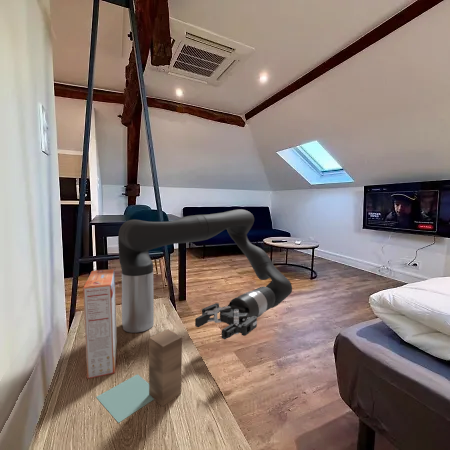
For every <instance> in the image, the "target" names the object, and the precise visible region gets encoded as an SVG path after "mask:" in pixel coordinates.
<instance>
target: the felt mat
mask: <svg viewBox="0 0 450 450" xmlns="http://www.w3.org/2000/svg"><path fill="white" fill-rule="evenodd" d="M96 399H97V400H98V402H100V403H101V405H102V406H103V407H104V408H105V409H106V411H107V412H108V413H109V414H110V415H111V416H112V417H113V418H114V420H116V422H117V423H118V424H119V423H121V422H122V421H124V420H125V419H127V418H128V417H130V416H132V415H133V414H135V412H138V411H139V410H141V409H142V408H143V407H145V406H146V405H148V404H149V403H151V402H152V401H154V400H155V399H154V398H153V397H151V396H150V395H149V381H147V380H145V378H143V377H142V376H141V375H139V373H137V374H135V375H134V376H132V377H130V378H128V379H125V380H124V381H122V382H121V383H119V384H117V385H116V386H113V387H111V388H109V389H107V390H106V391H105V392H103V393H100V394H99V395H97V396H96Z"/></svg>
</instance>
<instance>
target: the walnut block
mask: <svg viewBox="0 0 450 450" xmlns="http://www.w3.org/2000/svg"><path fill="white" fill-rule="evenodd" d="M148 338H149V339H148V345H149V346H148V351H149V352H148V361H149V362H148V371H149V373H148V377H149V378H148V383H149V395H150V396H151V397H153V398H154V400H155V401H156V402H157V403H158V404H159V405H160V406H161V407H164V406H165V405H167V404H168V403H170V402H171V401H172V400H174V399H175V398H177V397H179V396H180V395H181V394H182V366H183V365H182V361H183V359H182V358H183V356H182V355H183V354H182V353H183V337H182V336H181V335H179V334H178V333H176V332H173V331H172V330H170V329H166V330H163V331H161V332H159V333H156V334H154V335H152V336H150V337H148Z"/></svg>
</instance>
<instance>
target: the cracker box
mask: <svg viewBox="0 0 450 450" xmlns="http://www.w3.org/2000/svg"><path fill="white" fill-rule="evenodd" d="M115 274H116V272H115V269H114V268H112V269H111V268H110V269H97V270H95V269H94V270H92V271H91V272H90V274H89V276H88V277H87V280H86V281H85V283H84V285H83V287H82V294H83V295H82V297H83V312H84V317H83V318H84V333H85V334H84V335H85V336H84V337H85V357H86V377H87V379H88V380H89V379H93V378H94V379H95V378H98V377H103V376H108V375H113V374H115V373H116V361H117V359H116V358H117V343H118V338H117V337H118V335H117V333H118V332H117V330H118V329H117V304H116V303H117V302H116V300H117V299H116V275H115Z"/></svg>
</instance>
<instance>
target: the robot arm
mask: <svg viewBox="0 0 450 450" xmlns="http://www.w3.org/2000/svg"><path fill="white" fill-rule="evenodd" d="M254 222H255V217H254V215H253V212H252V213H251V212H250V211H248V210H246V209H242V208H241V209H238V208H237V209H233V210H227V211H224V212H217V213H210V214H195V215H193V214H192V215H187V216H182V217H180V218H177V219H174V220H169V221H147V220H141V219H128V220H126V221H125V222H123V224H122V225H121V226H120V228H119V230H118V235H117V237H118V238H117V239H118V240H117V243H118V245H117V246H118V258H119V259H118V260H119V261H118V262H119V264H120V269H121V325H122V329H123V331H124V332H127V333H142V332H146V331H147V330H150V329H152V328H153V326H154V325H155V321H154V318H155V317H154V313H155V312H154V311H155V310H154V304H155V303H154V300H155V299H154V297H155V296H154V261H152V258H151V256H150V254H149V253H150V252H149V251H151V250H153V249H158V248H162V247H164V246H170V245H174V244H177V245H178V244H186V243H194V242H195V243H196V242H202V241H207V240H209V239H211V238H213V237H215V236H217V235H218V234H220V233H222V232H224V231H225V230H227V233H228V235H229V237H230V238H231V239H232V241H233V242H234V243H235V244H236V245H237V247H238V249H240V251H241V252H242V254H244V256H245V257H246V258H247V260H248V262H249V264H250V266H251V267H252V269H253V272H254V273H255V275H256V276H257V279H259V280H260V281H267V280H269V279H270V280H271V281H270V282H269V283H268V284H267V285H266V286H259V287H257V288H255V289H253V290H250V291H247V292H245V293H242V294H240V295H238V296H236V297H234V298H232V299H231V300H230V301H229V303H228V305H226V306H222V307H221V306H220V303H218V302H215V303H212V304H211V305H208V306H206V307H203V308H202V309H201V315H200V316H197V317H195V321H194V322H195V323H194V324H195V327H196V328H200V327H203V326H205V325H206V324H207V323H210V322H214V323H215V324H219V323H225V324H227V326H225V327H224V328H222V330H221V339H223V340H227V339H229V338H231V337H232V336H234V335H239V334H241V336H242V337H243V336H244V337H246V336H247V335H248V334H250V333H251V332H252V331H253V330H255V329H256V328H258V318H260V317H261V316H262V315H263V314H265V312H267V311H269V310H270V309H273V308H275V307H277V306H279V305H280V304H281V303H282V302H283V301H284V300H286V298H288V297H289V296H290V295H291V294H292V292H293V286H292V285H293V284H292V283H291V281H290V280H289V279H288V278H287V277H286V276H285V275H284V274H283V273H282V272H281V271H280V270H279V269H278V268H277V267H276V266H275V265H274V263H273V262H272V259H271V258H270V257H269V255H268V254H267V252H266V251H265V250H264V249H262V248H261V247H259V246H256V245H255V244H254V243H253V244H252V243H251V241H250V240H249V238H248V233H249V232H250V230H251V229H252V227H253V225H254ZM218 314H219V318H218Z"/></svg>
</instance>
